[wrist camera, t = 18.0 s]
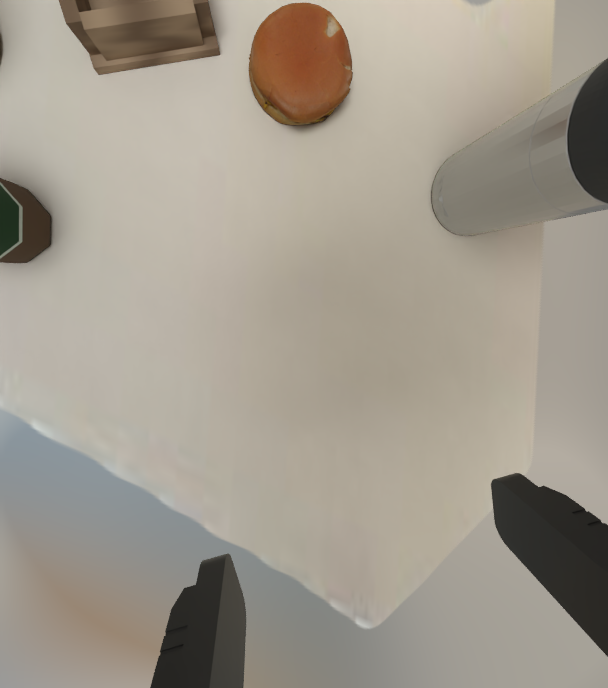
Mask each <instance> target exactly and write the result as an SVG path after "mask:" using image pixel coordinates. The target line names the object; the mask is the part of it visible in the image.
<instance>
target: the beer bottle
mask: <svg viewBox="0 0 608 688" xmlns="http://www.w3.org/2000/svg"><path fill="white" fill-rule="evenodd" d="M50 220H51V217H50V215H49V214H48V213H47V211H46V210H45V209H44V208H43V207H42V206H41V205H40V203H39V202H38V201H37V200H36V199H35V198H34V197H33V195H32V194H31V193H30V192H29V191H28V190H27V189H25V188H23V187H21V186H19V185H16V184H14V183H11V182H9V181H6V180H3V179H1V178H0V262H5V263H27V262H28V261H30V260H31V259H32V258H34V257H35V256H36V255H38V254H39V253H40V252H41V251H43V250H44V249H45V248H47V247H48V246H49V245H50Z"/></svg>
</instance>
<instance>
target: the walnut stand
mask: <svg viewBox="0 0 608 688" xmlns="http://www.w3.org/2000/svg"><path fill="white" fill-rule="evenodd" d="M59 2H60V5H61V9H62V12H63V15H64V18H65V21H66V24H67V25H68V26H69V28H70V29H71V30H72V32H73V33H74V34H75V35H76V37H77V38H78V39H79V41H80V42H81V43H82V45H83V46H84V47H85V48H86V50H87V51H88V52H89V54H90V58H91V61H92V64H93V67H94V69H95V70H96V72H97V73H98V74H99V75H100V74H106V73H112V72H118V71H124V70H130V69H136V68H142V67H148V66H154V65H161V64H167V63H173V62H179V61H185V60H191V59H197V58H203V57H209V56H215V55H220V52H219V47H218V43H217V38H216V34H215V30H214V25H213V21H212V17H211V12H210V8H209V3H208V0H59Z"/></svg>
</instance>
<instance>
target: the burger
mask: <svg viewBox="0 0 608 688" xmlns="http://www.w3.org/2000/svg"><path fill="white" fill-rule="evenodd" d="M249 60H250V62H249V77H250V82H251V87H252V90H253V93H254V95H255V97H256V99H257V100H258V102H259V104H260V105H261V106H262V107H263V109H264V110H265V111H266V112H267V113H268V114H269V115H270V116H271V117H273V118H274V119H275V120H276V121H278V122H279V123H283V124H290V125H303V124H311V123H315V122H320V121H323V120H325V119H326V118H327V117H328V116H329V115H330V114H331V113H332V112H333V111H334V109H336V107H337V106H339V104H340V103H341V102H342V101H343V100H344V99H345V97H346V96H347V95H348V93H349V91H350V88H349V86H350V83H351V80H352V74H353V73H352V71H351V70H352V59H351V54H350V49H349V44H348V40H347V37H346V35H345V33H344V30H343V28H342V27H341V25H340V24H339V22H338V21H337V20H336V19H335V17H334V16H333V15H332V14H331V12H329V11H327V10H326V9H324V8H322V7H321V6H319V5H315V4H310V3H292V4H288V5H285V6H282V7H281V8H279V9H278V10H276V11H275V12H273V13H272V14H270V15H269V16H268V17H267V18H266V19H265V20H264V21H263V22H262V23H261V25H260V26H259V28H258V30H257V32H256V34H255V36H254V40H253V43H252V48H251V54H250V58H249Z"/></svg>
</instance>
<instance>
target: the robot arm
mask: <svg viewBox="0 0 608 688" xmlns="http://www.w3.org/2000/svg"><path fill="white" fill-rule="evenodd" d="M432 205H433V209H434V212H435V214H436V217H437V219H438V220H439V221H440V223H441V224H442V225H443V226H444V227H445V228H446V229H447V230H449V231H451V232H453V233H455V234H458V235H462V236H470V235H476V234H481V233H486V232H491V231H498V230H503V229H508V228H513V227H519V226H524V225H529V224H534V223H539V222H545V221H550V220H555V219H560V218H566V217H571V216H576V215H581V214H586V213H590V212H596V211H601V210H606V209H608V59H606V60H604V61H603V62H601V63H599V64H598V65H596V66H595V67H593V68H592V69H590V70H588V71H587V72H585V73H584V74H582V75H580V76H579V77H577V78H576V79H574V80H572V81H571V82H569V83H568V84H566V85H565V86H563V87H562V88H560V89H558V90H557V91H555V92H554V93H552V94H550V95H549V96H547V97H546V98H544V99H542V100H541V101H539V102H538V103H536V104H534V105H533V106H531V107H530V108H528V109H526V110H525V111H523V112H522V113H520V114H518V115H517V116H515V117H514V118H512V119H510V120H509V121H507V122H506V123H504V124H502V125H501V126H499V127H498V128H496V129H494V130H493V131H491V132H490V133H488V134H486V135H485V136H483V137H482V138H480V139H478V140H477V141H475V142H473V143H472V144H470V145H469V146H467V147H465V148H464V149H462V150H461V151H459V152H457V153H456V154H454V155H453V156H452V157H450V158H449V159H447V160H446V162H445V163H444V164H443V165H442V166H441V167H440V169H439V171H438V173H437V174H436V177H435V180H434V182H433V187H432ZM491 489H492V499H493V509H494V519H495V525H496V528H497V530H498V533H499V535H500V536H501V538H502V540H503V542H504V543H505V544H506V545H507V546H508V548H509V549H510V550H511V551H512V552H513V553H514V554H515V555H516V557H517V558H518V559H519V560H520V561H521V562H522V563H523V564H524V565H525V566H526V567H527V569H528V570H529V571H531V573H532V574H533V575H534V576H535V577H536V578H537V579H538V581H539V582H540V583H541V584H542V585H543V586H544V587H545V588H546V589H547V591H548V592H549V593H550V594H551V595H552V596H553V597H554V598H555V599H556V600H557V601H558V603H559V604H560V605H561V606H562V607H563V608H564V609H565V610H566V611H567V613H568V614H570V616H571V617H572V618H573V619H574V620H575V621H576V622H577V623H578V625H579V626H580V627H581V628H582V629H583V630H584V631H585V632H586V633H587V634H588V635H589V637H590V638H591V639H592V640H593V641H594V642H595V643H596V644H597V646H598V647H599V648H600V649H601V650H602V651H603V652H604V653H605V654H606V655H607V656H608V525H607V524H605V523H602V522H601V520H600V519H598V518H597V517H596V516H594V515H593V514H591V513H590V512H586V511H585V509H584V508H583V507H581V506H580V505H579V504H577V503H576V502H575V501H573V500H572V499H570V498H569V497H568V496H566V495H564V494H562V493H560V492H557V491H555V490H552V489H550V488H548V487H545V486H542V487H538V486H536V485H535V484H534V483H532V482H531V481H530V480H528V479H527V478H526V477H525V476H523V475H522V474H519V473H515V474H511V475H508V476H504V477H501V478H497V479H494V480H493V481H492V483H491ZM245 610H246V609H245V603H244V597H243V593H242V590H241V587H240V584H239V580H238V577H237V574H236V571H235V568H234V565H233V561H232V559H231V556H230V555H229V554H225V555H221V556H218V557H214V558H211V559H207V560H204V561H202V562H201V564H200V568H199V573H198V578H197V583H196V585H194V586H191V587H187V588H184V589H183V591H182V593H181V594H180V596H179V598H178V599H177V601H176V603H175V604H174V606H173V607H172V609H171V613H170V617H169V621H168V624H167V628H166V636H164V639H163V643H162V646H161V650H160V652H161V654H160V656H159V658H158V662H157V666H156V669H155V672H154V676H153V680H152V684H151V687H150V688H243V682H244V658H245V636H246V611H245Z"/></svg>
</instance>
